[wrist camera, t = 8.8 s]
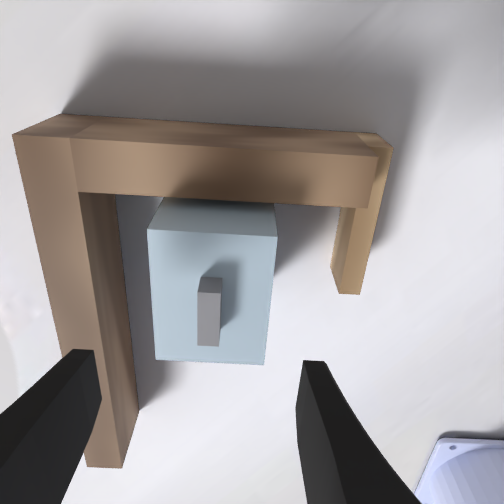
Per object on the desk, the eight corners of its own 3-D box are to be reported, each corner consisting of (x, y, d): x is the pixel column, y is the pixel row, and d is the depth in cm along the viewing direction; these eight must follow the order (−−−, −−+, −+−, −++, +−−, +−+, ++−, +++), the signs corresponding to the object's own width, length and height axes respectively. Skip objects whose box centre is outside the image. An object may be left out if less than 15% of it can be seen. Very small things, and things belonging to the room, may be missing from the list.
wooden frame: (376, 133, 18) (406, 158, 14) (317, 419, 27) (327, 476, 24) (60, 114, 18) (11, 134, 14) (109, 409, 27) (87, 466, 23)
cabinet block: (270, 180, 19) (279, 250, 13) (261, 285, 22) (264, 383, 16) (176, 174, 19) (139, 242, 13) (179, 280, 22) (150, 378, 16)
